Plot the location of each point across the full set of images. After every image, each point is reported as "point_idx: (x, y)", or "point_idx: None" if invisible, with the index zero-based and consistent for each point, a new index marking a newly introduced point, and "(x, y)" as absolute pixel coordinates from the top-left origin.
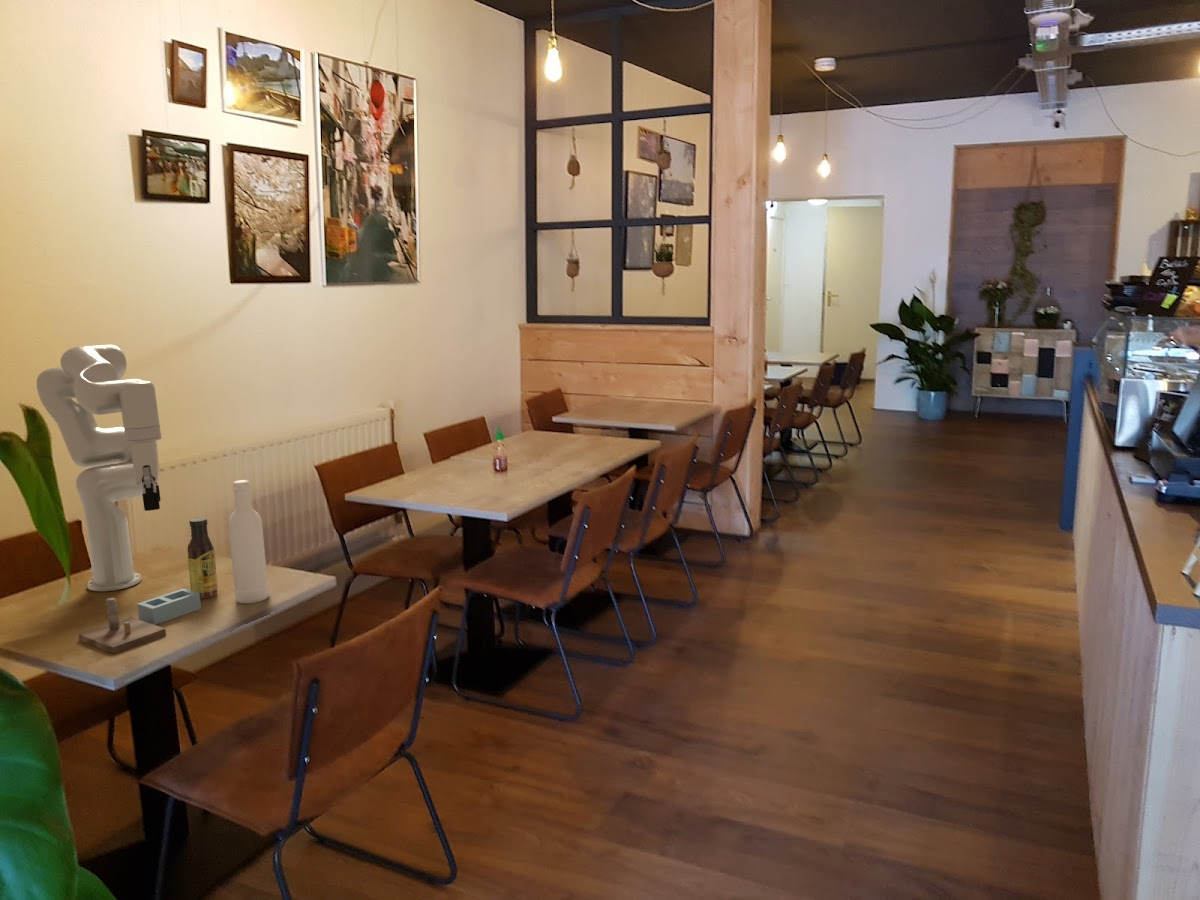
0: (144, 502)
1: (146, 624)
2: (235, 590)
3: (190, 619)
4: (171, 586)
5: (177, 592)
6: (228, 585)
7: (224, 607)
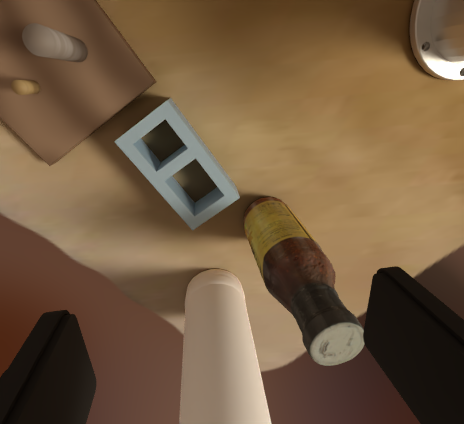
0: (9, 377)
1: (86, 124)
2: (204, 283)
3: (136, 200)
4: (363, 150)
5: (217, 186)
6: None
7: (183, 252)
